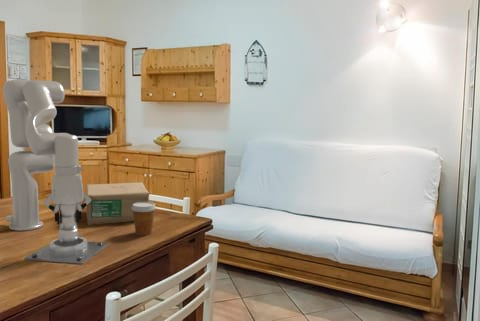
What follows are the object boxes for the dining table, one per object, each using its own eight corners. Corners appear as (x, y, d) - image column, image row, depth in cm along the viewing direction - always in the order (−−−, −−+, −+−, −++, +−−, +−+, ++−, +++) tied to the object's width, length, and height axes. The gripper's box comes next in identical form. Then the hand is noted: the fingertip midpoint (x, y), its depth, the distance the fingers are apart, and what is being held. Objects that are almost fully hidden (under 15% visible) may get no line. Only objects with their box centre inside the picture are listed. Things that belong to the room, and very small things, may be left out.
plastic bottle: (72, 238, 152) (71, 183, 149) (82, 242, 147) (81, 185, 145) (54, 242, 147) (53, 185, 144) (64, 246, 142) (63, 187, 140)
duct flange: (24, 259, 139) (24, 249, 138) (57, 241, 159) (56, 231, 158) (82, 263, 137) (82, 253, 136) (108, 244, 156) (108, 235, 156)
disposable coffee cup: (131, 237, 166) (131, 207, 164) (132, 230, 175) (132, 201, 174) (155, 236, 168) (155, 206, 166) (155, 229, 177) (155, 201, 175)
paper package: (86, 226, 180) (86, 193, 178) (86, 211, 204) (86, 183, 202) (150, 221, 189) (150, 191, 188) (143, 208, 213) (143, 181, 212)
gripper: (92, 168, 151) (93, 218, 153) (39, 170, 144) (41, 222, 146) (94, 171, 144) (95, 223, 146) (38, 173, 137) (40, 227, 139)
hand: (68, 222), depth 146 cm, fingers closed on plastic bottle, 5 cm apart
